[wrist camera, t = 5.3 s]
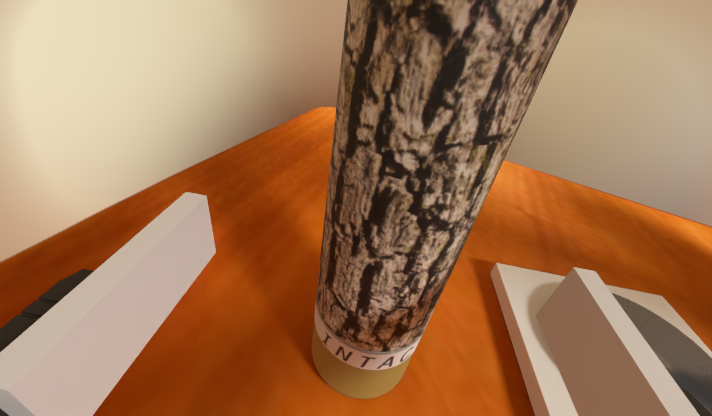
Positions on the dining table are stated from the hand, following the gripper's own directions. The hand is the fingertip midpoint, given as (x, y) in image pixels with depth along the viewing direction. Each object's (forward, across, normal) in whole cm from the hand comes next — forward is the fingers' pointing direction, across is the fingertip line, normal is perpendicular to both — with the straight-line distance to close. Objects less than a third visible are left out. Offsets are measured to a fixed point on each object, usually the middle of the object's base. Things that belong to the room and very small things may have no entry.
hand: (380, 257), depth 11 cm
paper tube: (+4, +1, -13) cm, 14 cm away
